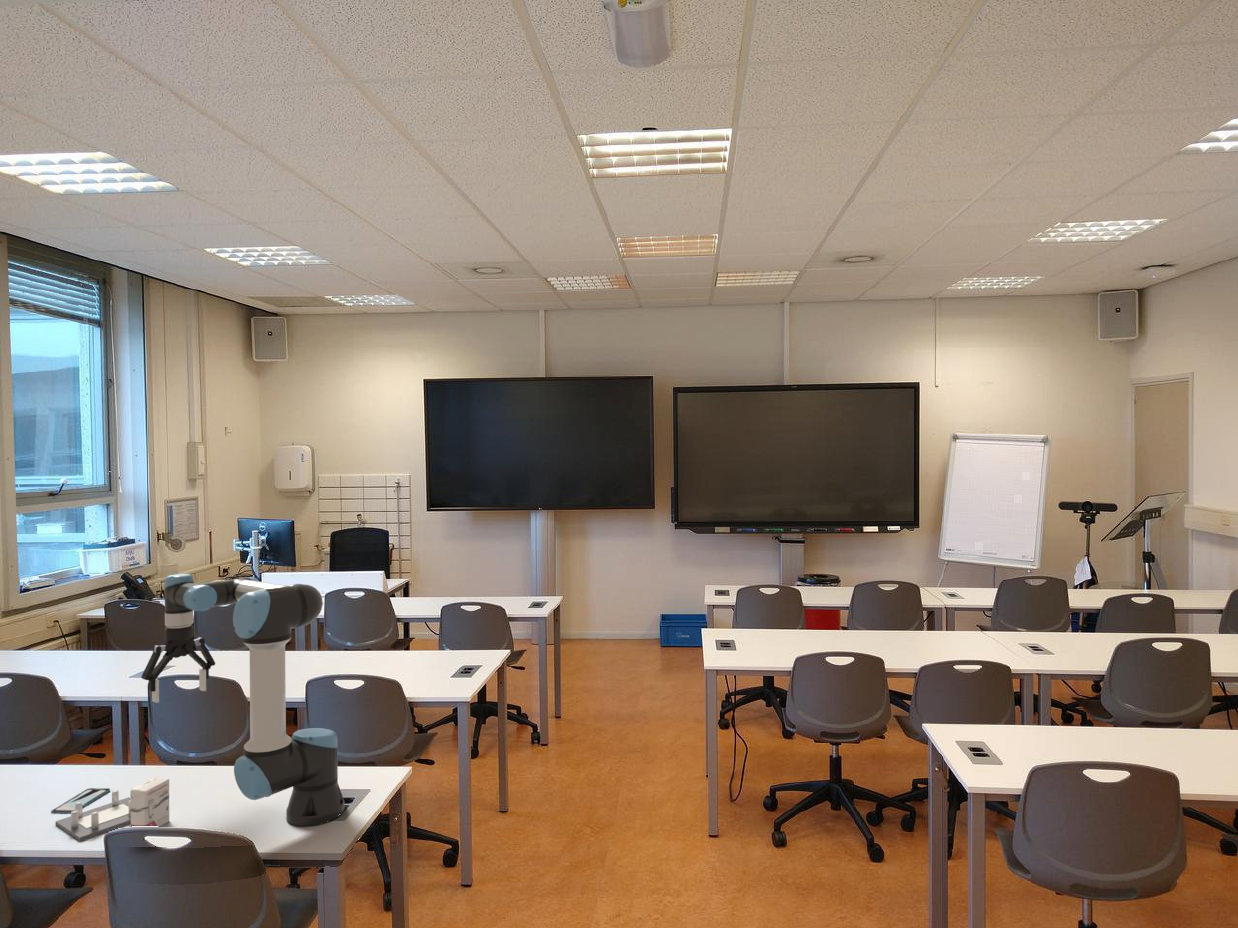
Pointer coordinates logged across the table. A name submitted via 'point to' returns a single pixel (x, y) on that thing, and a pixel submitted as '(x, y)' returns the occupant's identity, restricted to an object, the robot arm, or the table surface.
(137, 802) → the ink box
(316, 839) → the table surface
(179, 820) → the table surface
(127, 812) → the pin tray
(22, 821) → the table surface
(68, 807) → the smartphone
